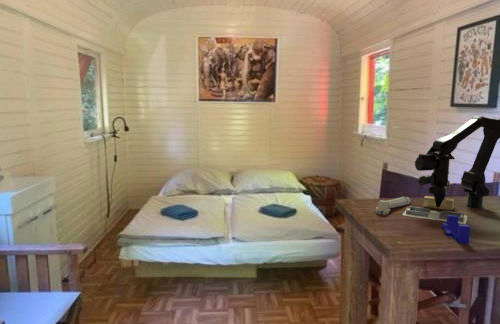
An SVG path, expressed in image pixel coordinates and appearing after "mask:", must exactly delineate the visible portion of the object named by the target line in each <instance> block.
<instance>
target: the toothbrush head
mask: <svg viewBox="0 0 500 324" xmlns="http://www.w3.org/2000/svg"><path fill="white" fill-rule="evenodd" d="M410 204H412V199H411V198H410V197H409V196H400V197H397V198H393V199H389V200H382V199H381V200H379V201H378V204H377V206H376V207H375V210H376V214H377V215H382V216H384V215H389V213H390V212H391V209H393V208H399V207H404V206H408V205H410Z"/></svg>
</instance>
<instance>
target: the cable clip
mask: <svg viewBox="0 0 500 324" xmlns="http://www.w3.org/2000/svg"><path fill="white" fill-rule="evenodd" d="M441 229H442V230H443V231H444V232H443V234H444V235H445V236H446V237H449V238H450V237H451V238H453V239H454V240H455V241H456V243H458V244H467V245H468V244H469V242H470V231H471V226H470V225H469V224H459V223H458V216H457V215H447V222H442V223H441Z"/></svg>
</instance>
